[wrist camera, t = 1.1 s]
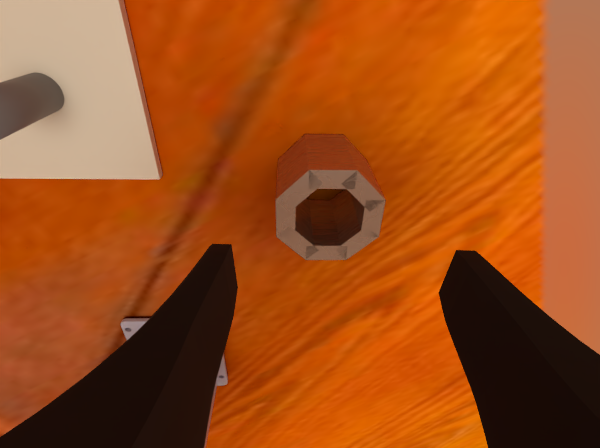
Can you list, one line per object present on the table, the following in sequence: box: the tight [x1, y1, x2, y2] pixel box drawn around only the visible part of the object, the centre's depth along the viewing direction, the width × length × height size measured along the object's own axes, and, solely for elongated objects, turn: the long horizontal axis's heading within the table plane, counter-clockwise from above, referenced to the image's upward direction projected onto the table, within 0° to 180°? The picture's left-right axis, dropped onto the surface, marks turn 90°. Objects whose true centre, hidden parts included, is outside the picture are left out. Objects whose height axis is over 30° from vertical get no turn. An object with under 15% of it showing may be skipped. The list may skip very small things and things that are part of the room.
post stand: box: [0, 0, 163, 179], centre depth 16 cm, size 10×10×6 cm
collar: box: [276, 134, 386, 260], centre depth 20 cm, size 6×6×5 cm
